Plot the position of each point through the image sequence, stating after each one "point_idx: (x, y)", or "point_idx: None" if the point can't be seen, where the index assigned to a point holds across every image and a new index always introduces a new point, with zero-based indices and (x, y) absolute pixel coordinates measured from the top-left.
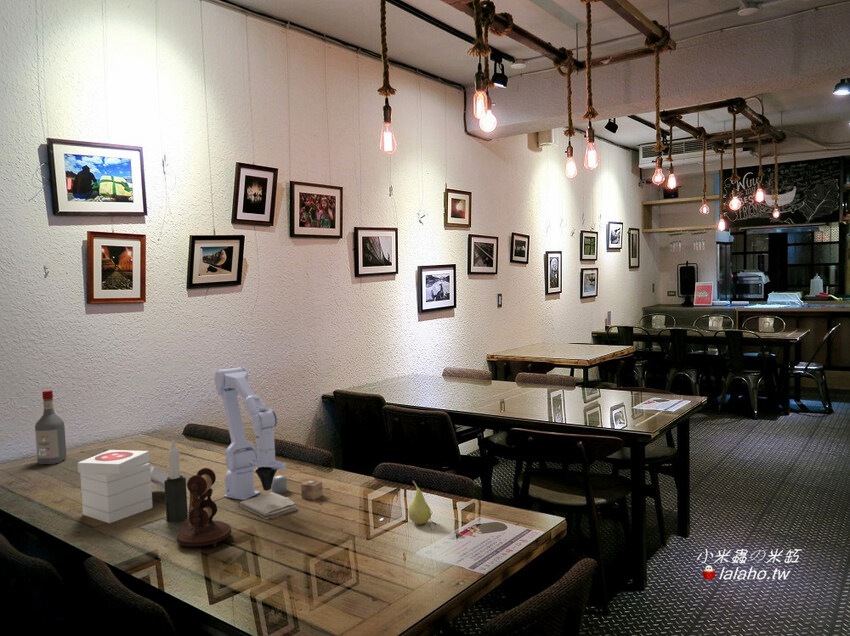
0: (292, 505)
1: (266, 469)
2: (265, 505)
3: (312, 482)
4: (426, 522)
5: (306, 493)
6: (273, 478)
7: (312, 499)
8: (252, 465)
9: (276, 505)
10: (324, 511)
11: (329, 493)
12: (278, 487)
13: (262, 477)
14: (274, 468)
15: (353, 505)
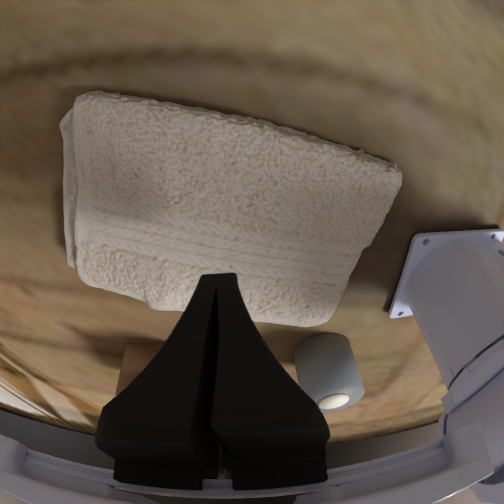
0: (75, 261)
1: (168, 463)
2: (184, 184)
3: None
4: None
5: None
6: (351, 389)
7: (131, 346)
8: (423, 447)
9: (127, 218)
10: (8, 288)
11: None
12: (313, 361)
13: (217, 363)
14: (94, 471)
15: (12, 344)
